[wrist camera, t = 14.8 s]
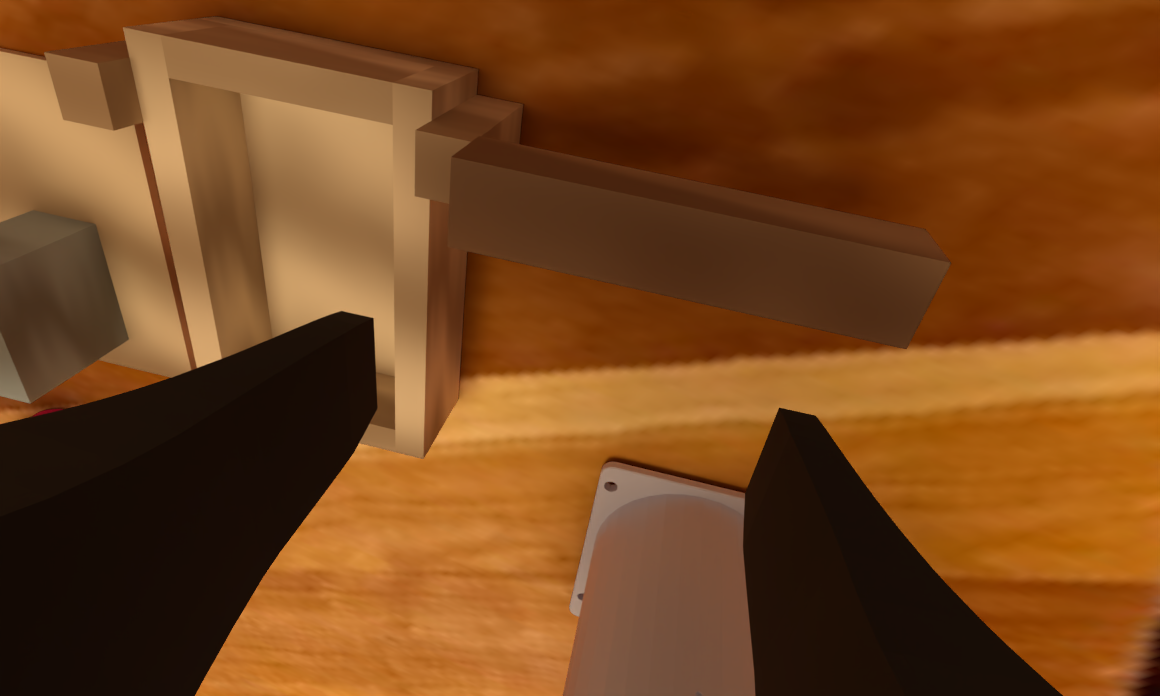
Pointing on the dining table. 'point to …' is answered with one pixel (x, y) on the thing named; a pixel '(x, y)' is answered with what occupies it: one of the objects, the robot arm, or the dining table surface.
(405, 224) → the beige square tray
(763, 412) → the dining table surface
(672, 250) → the rectangular bar
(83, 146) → the lid
